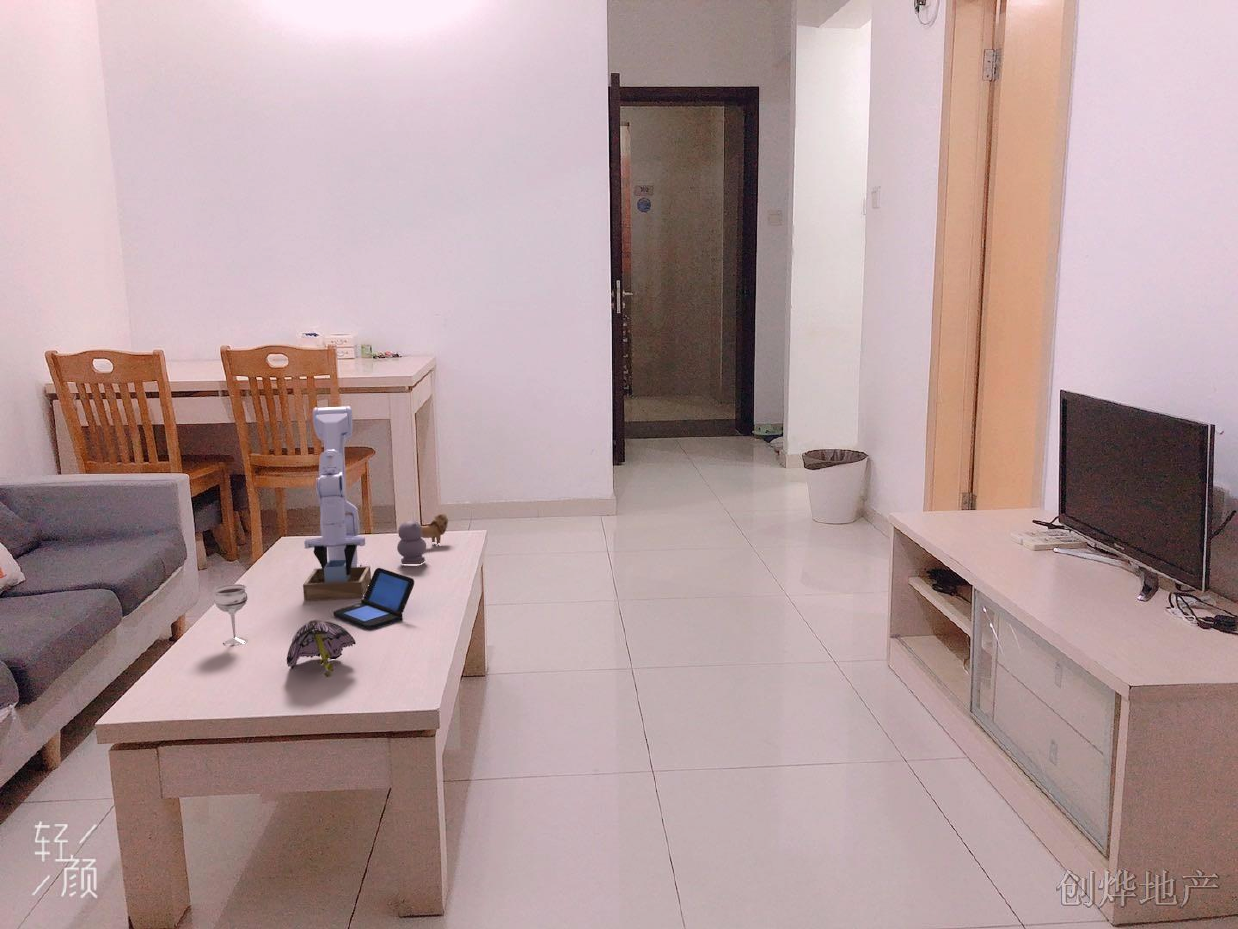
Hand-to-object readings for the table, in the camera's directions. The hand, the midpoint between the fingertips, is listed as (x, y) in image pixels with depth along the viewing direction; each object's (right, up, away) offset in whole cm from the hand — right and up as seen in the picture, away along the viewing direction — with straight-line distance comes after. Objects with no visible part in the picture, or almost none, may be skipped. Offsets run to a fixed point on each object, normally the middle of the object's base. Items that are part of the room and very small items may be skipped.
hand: (337, 574), depth 256 cm
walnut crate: (0, -4, +1) cm, 4 cm away
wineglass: (-13, -11, -34) cm, 38 cm away
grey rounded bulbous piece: (+14, 0, +24) cm, 28 cm away
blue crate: (0, -2, 0) cm, 2 cm away
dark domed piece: (+11, -14, -51) cm, 54 cm away
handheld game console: (+14, -8, -19) cm, 25 cm away
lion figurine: (+15, +4, +41) cm, 44 cm away
